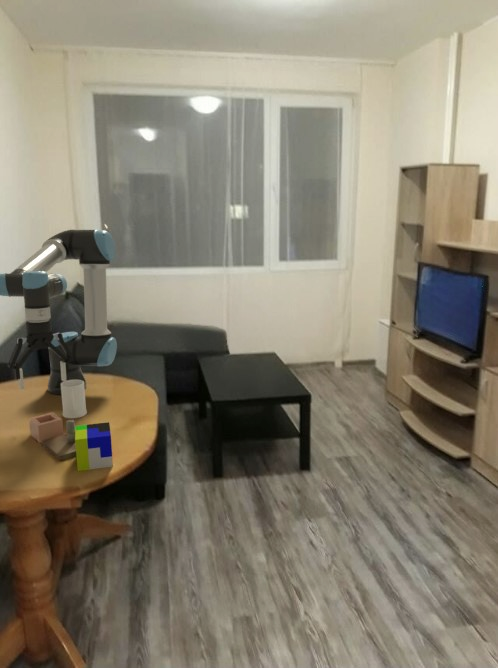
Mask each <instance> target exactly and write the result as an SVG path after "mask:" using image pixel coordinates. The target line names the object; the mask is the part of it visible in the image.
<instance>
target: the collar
mask: <svg viewBox="0 0 498 668" xmlns="http://www.w3.org/2000/svg"><path fill="white" fill-rule="evenodd" d="M28 422H29V431H30V436H31V437H32V438H33V439H35V440H36V441H37V442H38V443H39V444H40V443H41V444H42V441H43V440H46V439H50V438H53V437H56V436H60V435H63V434H64V424H63V423H64V422H63V419H62V418H61V417H60V416H58V415H57V414H56V413H55V412H53V411H51V412H47V413H44V414H41V415H36V416H32V417H29V418H28Z"/></svg>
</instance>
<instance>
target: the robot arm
mask: <svg viewBox="0 0 498 668" xmlns="http://www.w3.org/2000/svg"><path fill="white" fill-rule="evenodd" d="M115 247H116V246H115V241H114V239H113V237H112V234H111V233H109V232H108V231H107V230H102V229H68V230H63V231H61V232H58V233H55V234H54V235H53V236H51V237H49V238H48V239H46V240H45V241H44V242H43V243H42V246H41V248H40V249H38V250H37V251H36V252H35V253H34V254H33V255H31V256H30V257H28V258H27V259H26V260H25V261H24V262H23V263H21V264H20V265H19V266H18V267H16V268H15V269H14V270H13V271H11V272H10V273H0V296H1V297H9V298H11V297H14V298H16V297H18V298H20V297H21V298H23V301H24V315H25V320H26V322H25V328H26V329H25V330H26V337H19V336H17V337H16V338H15V342H16V343H15V345H14V349H13V351H12V353H11V355H10V358H9V360H8V362H7V365H6V366H7V367H8V368H9V369H11V370H13V371H14V378H15V379H16V380H18V389H20V390H25V385H24V384H25V382H24V374H23V373H24V372H23V368H22V366H23V365H24V363H25V362H26V361H27V359H28V358H29V356H30V355H31V354H32V353H33V352H34V350H36V351H39V350H46V349H48V354H49V355H48V356H49V363H50V366H49V367H50V374H49V379H48V383H47V391H48V392H49V393H51V394H55V395H62V394H61V383H62V382H67V380H82V381H84V390H85V389H86V388H87V381H86V378H85V376H84V373H83V371H82V369H81V366H93V367H108V366H110V365H112V363H113V362H114V360H115V357H116V354H117V350H118V349H117V348H118V343H117V339H116V338H115V337H113V336H112V331H110V330H109V329H108V304H107V303H108V302H107V300H108V299H107V298H108V297H107V296H108V295H107V268H108V267H109V266H111V262H110V261H113V260H114V258H115V255H116V248H115ZM66 260H78V262H79V263H78V265H79V266H81V268H82V269H83V293H84V294H83V297H84V298H83V299H84V330H83V331H82V332H81V335H80V336H79V334H78V331H77V332H76V331H66V332H59V331H58V332H56V333H53V332H52V329H53V327H52V321H51V319H52V318H51V317H52V316H51V302H50V299H52V298H57V297H59V296H61V295H62V294H64V293H65V292H66V291H67V289H68V282H67V280H66V277H65V276H63V275H62V274H59V273H47V272H48V271H50V270H51V269H52V268H53V267H54V266H55V265H57V264H61V263H62V262H64V261H66ZM25 343H27V346H26V347H25V349H24V351H23V352H22V354H21V353H20V352H21V351H22V348H23V345H24V344H25ZM20 354H21V355H20ZM19 355H20V356H19Z"/></svg>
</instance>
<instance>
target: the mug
mask: <svg viewBox="0 0 498 668" xmlns="http://www.w3.org/2000/svg"><path fill="white" fill-rule="evenodd" d="M60 395H61V401H62V402H61V404H62V405H61V406H62V417H63V418H65V419H79V418H81V417H84V416H86V415H87V413H88V410H87V405H86V392H85V389H84V381H82V380H67V382H62V383H61V394H60Z"/></svg>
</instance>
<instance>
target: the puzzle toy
mask: <svg viewBox="0 0 498 668" xmlns="http://www.w3.org/2000/svg"><path fill="white" fill-rule="evenodd" d="M75 444H76V456H75V457H76V466H77V471H78V472H79V471H87V470H88V471H89V470H95V469H103V468H112V467H114V464H113V463H114V462H113V451H112V449H113V448H112V446H113V445H112V434H111V426H110V422H99V423H91V424H81V425H80V424H79V425H75Z"/></svg>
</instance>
